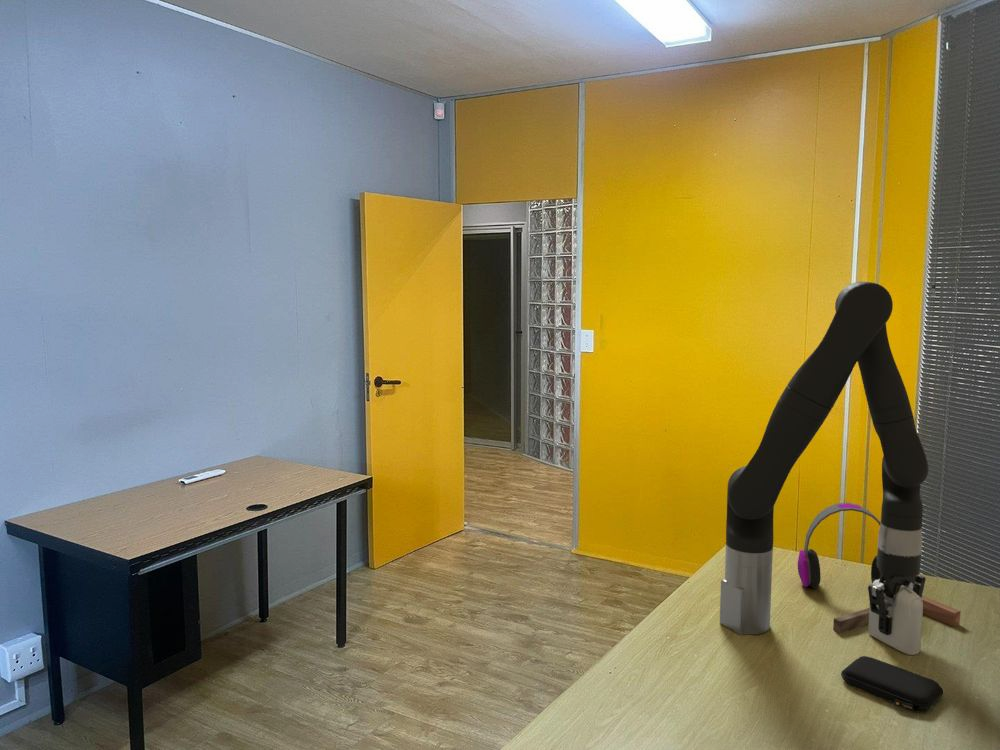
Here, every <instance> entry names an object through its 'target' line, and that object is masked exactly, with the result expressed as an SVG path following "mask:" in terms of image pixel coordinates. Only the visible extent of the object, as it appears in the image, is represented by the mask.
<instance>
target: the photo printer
mask: <svg viewBox="0 0 1000 750" xmlns="http://www.w3.org/2000/svg"><path fill="white" fill-rule="evenodd" d="M879 580H880V579H879ZM879 580H875V581H874V582H873V583H872V582H871V585H874V586H875V585H877V584H879ZM884 597H885V599H887V600H890V601H892V600H893V599H891V598H889V597H887V596H884ZM896 602H897V603H896V607H894V610H893V613H892V616H891V617H892V629H891V634H890V635H885V634H883V633H881V632H880V631H879V628H878V625H879V615H878V614H876V613H873V612H871V608H870V605H869V607H868V608H869V624H868V634H869V635H870V636H872V637H874V638H875V639H877V640H879V641H880V642H881V643H884V644H886V645H888V646H890V647H892V648H894V649H895V650H897V651H900V652H901V653H903V654H906V655H910V656H914V655H918V654H919V652H920V651H921V650H922V649H921V647H922V633H923V629H922V628H923V615H924V614H923V601H922V599H921V598H920V596H918V595H917V594H916V593H915V592H914V591H912V590H911V589H909V588H908V587H906V586H904V589H903V590H902V591H901V592H900V593H899V594H898V596H897V601H896ZM877 607H878V605H877ZM885 608H886V610H887V609H888V604H886V603H885Z"/></svg>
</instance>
